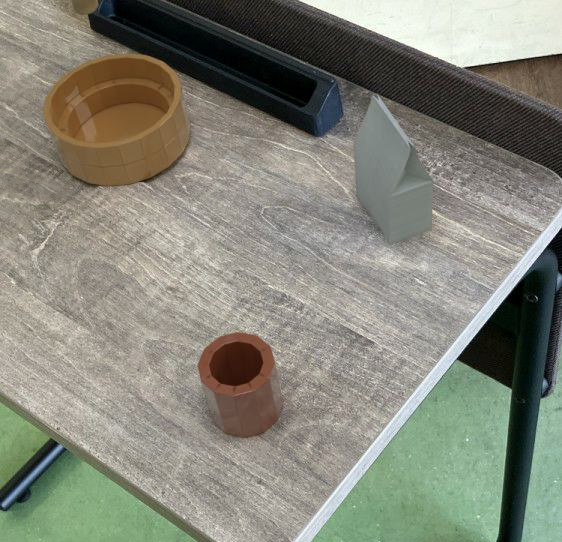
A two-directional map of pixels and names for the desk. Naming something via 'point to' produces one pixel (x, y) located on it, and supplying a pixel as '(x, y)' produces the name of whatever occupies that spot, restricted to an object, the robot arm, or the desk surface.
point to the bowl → (118, 119)
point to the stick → (84, 6)
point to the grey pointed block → (391, 177)
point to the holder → (241, 384)
